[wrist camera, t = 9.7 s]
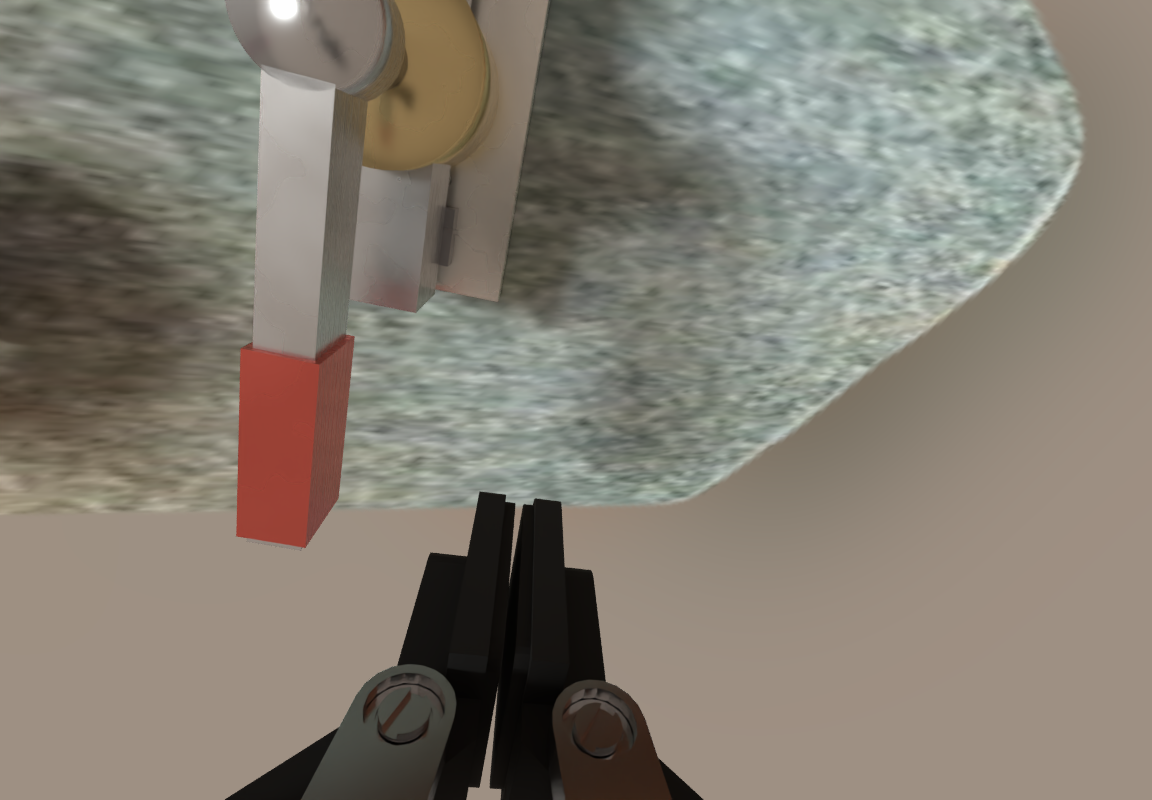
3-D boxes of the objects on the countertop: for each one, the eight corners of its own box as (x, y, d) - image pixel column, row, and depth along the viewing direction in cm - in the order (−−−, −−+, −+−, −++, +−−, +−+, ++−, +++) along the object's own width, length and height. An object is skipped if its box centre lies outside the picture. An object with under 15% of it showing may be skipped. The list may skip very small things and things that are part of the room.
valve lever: (283, -59, 14) (219, -114, 11) (415, -19, 14) (383, -64, 11) (261, 491, 19) (215, 541, 17) (354, 508, 20) (324, 559, 17)
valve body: (329, -182, 20) (143, -478, 11) (569, -111, 21) (581, -327, 12) (310, 255, 26) (178, 299, 17) (500, 295, 27) (473, 356, 18)
